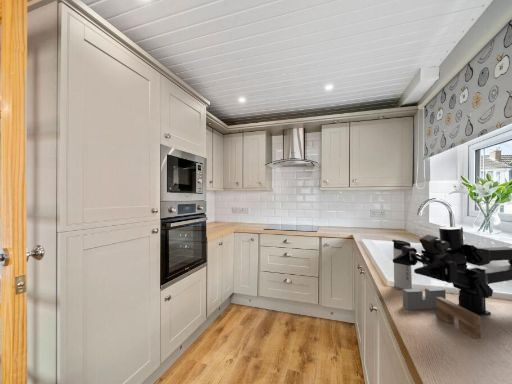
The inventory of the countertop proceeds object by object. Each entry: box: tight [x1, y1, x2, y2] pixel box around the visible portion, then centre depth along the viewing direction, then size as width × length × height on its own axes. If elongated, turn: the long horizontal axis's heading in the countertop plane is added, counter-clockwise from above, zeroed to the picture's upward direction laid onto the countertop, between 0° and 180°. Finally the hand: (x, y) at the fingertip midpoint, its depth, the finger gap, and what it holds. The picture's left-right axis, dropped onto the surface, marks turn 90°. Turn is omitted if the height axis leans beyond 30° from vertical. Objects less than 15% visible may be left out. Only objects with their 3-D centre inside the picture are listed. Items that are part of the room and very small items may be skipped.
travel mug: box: [391, 239, 413, 292], centre depth 97 cm, size 6×7×20 cm
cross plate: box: [435, 297, 482, 340], centre depth 69 cm, size 2×12×6 cm, turn 5°
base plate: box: [402, 286, 447, 311], centre depth 81 cm, size 14×2×6 cm, turn 95°
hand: (403, 265), depth 75 cm, fingers open, 9 cm apart
